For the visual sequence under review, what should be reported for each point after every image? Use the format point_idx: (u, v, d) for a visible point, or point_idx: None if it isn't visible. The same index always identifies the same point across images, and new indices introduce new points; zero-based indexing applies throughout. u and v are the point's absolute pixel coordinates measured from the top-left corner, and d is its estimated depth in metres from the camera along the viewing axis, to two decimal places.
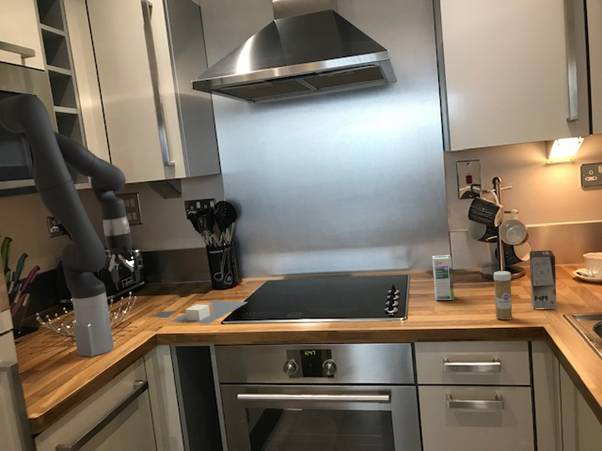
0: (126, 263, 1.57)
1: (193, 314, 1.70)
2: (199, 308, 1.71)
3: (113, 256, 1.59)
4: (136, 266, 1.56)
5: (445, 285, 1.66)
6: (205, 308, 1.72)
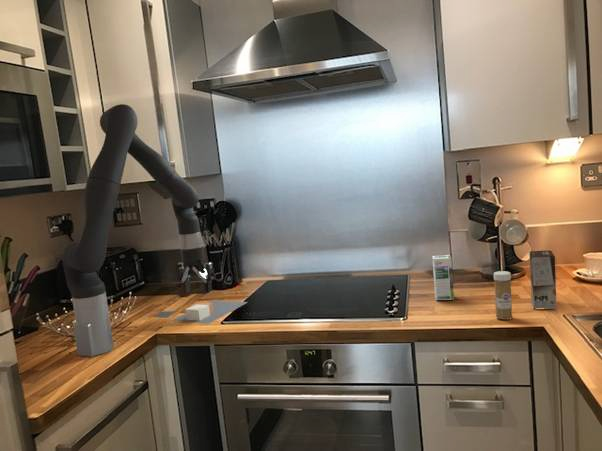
0: (200, 275, 1.70)
1: (193, 314, 1.70)
2: (199, 308, 1.71)
3: (187, 268, 1.71)
4: (209, 278, 1.69)
5: (445, 285, 1.66)
6: (205, 308, 1.72)
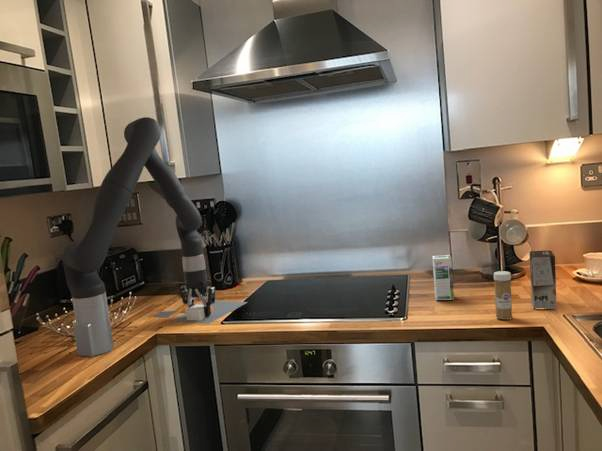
0: (201, 298, 1.71)
1: (193, 314, 1.70)
2: (199, 308, 1.71)
3: (190, 290, 1.72)
4: (209, 302, 1.70)
5: (445, 285, 1.66)
6: None
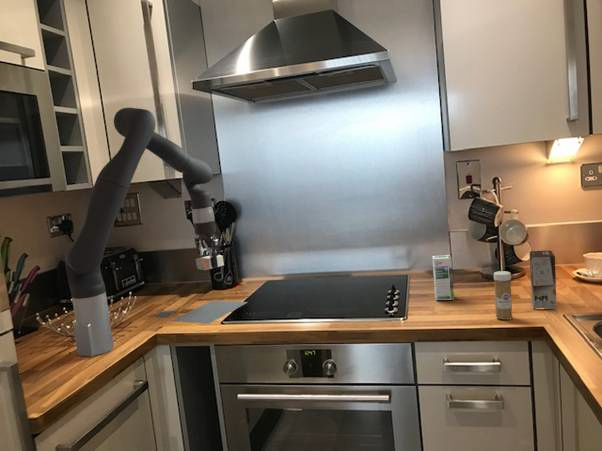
0: None
1: None
2: None
3: None
4: None
5: (445, 285, 1.66)
6: None
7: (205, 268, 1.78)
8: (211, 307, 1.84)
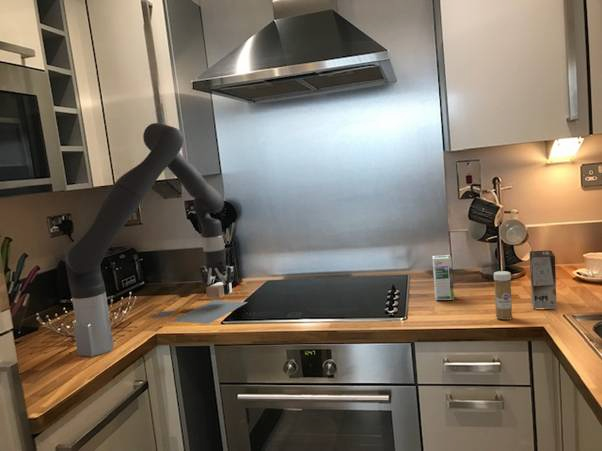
0: None
1: None
2: (218, 283, 1.87)
3: None
4: None
5: (445, 285, 1.66)
6: None
7: (220, 295, 1.80)
8: (211, 307, 1.84)
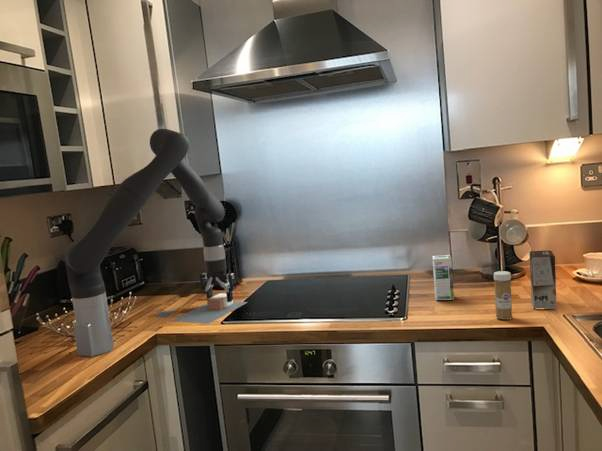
0: None
1: None
2: (219, 294, 1.87)
3: None
4: None
5: (445, 285, 1.66)
6: None
7: (221, 307, 1.80)
8: None
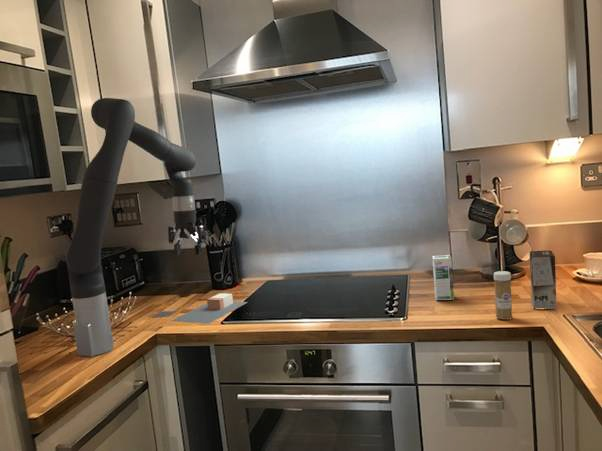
0: None
1: None
2: (219, 294, 1.87)
3: None
4: None
5: (445, 285, 1.66)
6: None
7: (221, 307, 1.80)
8: None
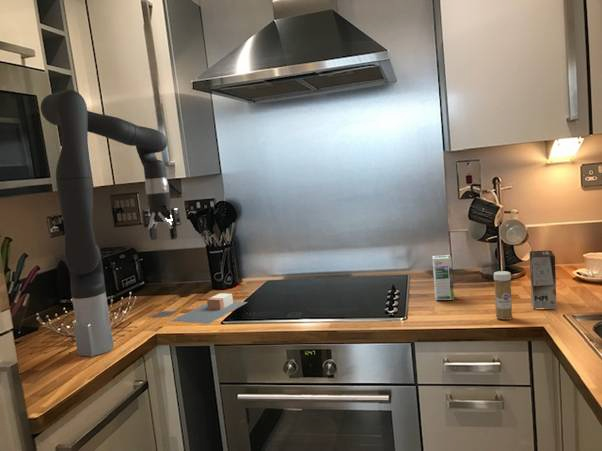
0: None
1: None
2: (219, 294, 1.87)
3: None
4: None
5: (445, 285, 1.66)
6: None
7: (221, 307, 1.80)
8: None
